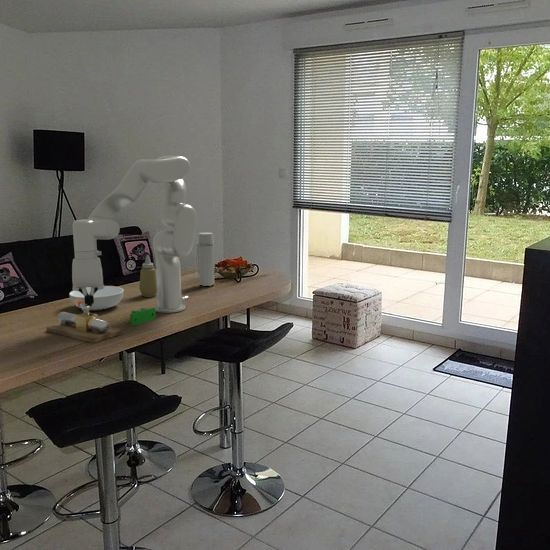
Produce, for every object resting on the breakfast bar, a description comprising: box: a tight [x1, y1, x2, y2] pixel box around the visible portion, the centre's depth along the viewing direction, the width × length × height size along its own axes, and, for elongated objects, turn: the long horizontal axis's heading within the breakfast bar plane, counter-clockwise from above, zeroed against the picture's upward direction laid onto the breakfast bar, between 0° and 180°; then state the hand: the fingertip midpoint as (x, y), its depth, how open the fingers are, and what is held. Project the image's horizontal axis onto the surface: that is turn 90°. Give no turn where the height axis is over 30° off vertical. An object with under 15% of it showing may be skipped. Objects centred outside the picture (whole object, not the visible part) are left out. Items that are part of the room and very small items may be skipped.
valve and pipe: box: [57, 311, 110, 334], centre depth 199 cm, size 5×22×5 cm, turn 58°
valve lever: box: [74, 298, 91, 315], centre depth 202 cm, size 13×3×3 cm, turn 31°
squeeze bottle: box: [139, 254, 157, 298], centre depth 252 cm, size 8×8×18 cm
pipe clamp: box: [129, 307, 157, 327], centre depth 214 cm, size 11×4×5 cm, turn 145°
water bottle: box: [194, 232, 215, 286], centre depth 273 cm, size 9×8×25 cm
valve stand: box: [46, 322, 122, 344], centre depth 200 cm, size 12×24×2 cm, turn 58°
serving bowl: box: [68, 285, 125, 311], centre depth 233 cm, size 21×21×7 cm
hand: (89, 305), depth 207 cm, fingers closed
